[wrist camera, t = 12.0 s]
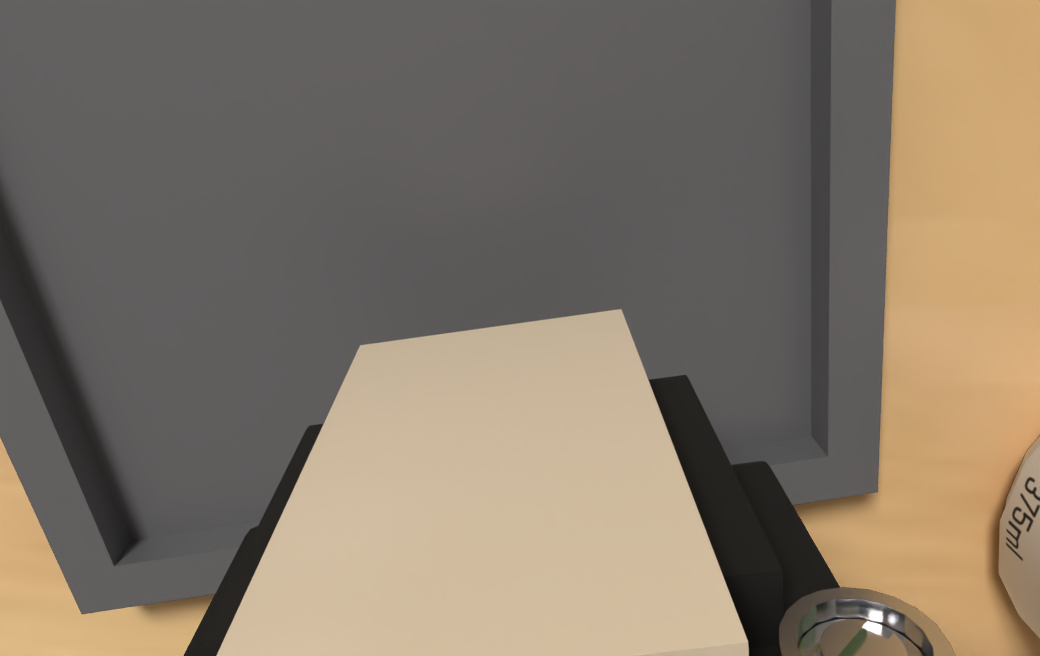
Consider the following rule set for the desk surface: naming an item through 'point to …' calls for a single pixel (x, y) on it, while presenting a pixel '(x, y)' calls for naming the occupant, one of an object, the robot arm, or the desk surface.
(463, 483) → the beige rectangular block
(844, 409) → the tray
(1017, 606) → the supplement can
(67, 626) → the desk surface
